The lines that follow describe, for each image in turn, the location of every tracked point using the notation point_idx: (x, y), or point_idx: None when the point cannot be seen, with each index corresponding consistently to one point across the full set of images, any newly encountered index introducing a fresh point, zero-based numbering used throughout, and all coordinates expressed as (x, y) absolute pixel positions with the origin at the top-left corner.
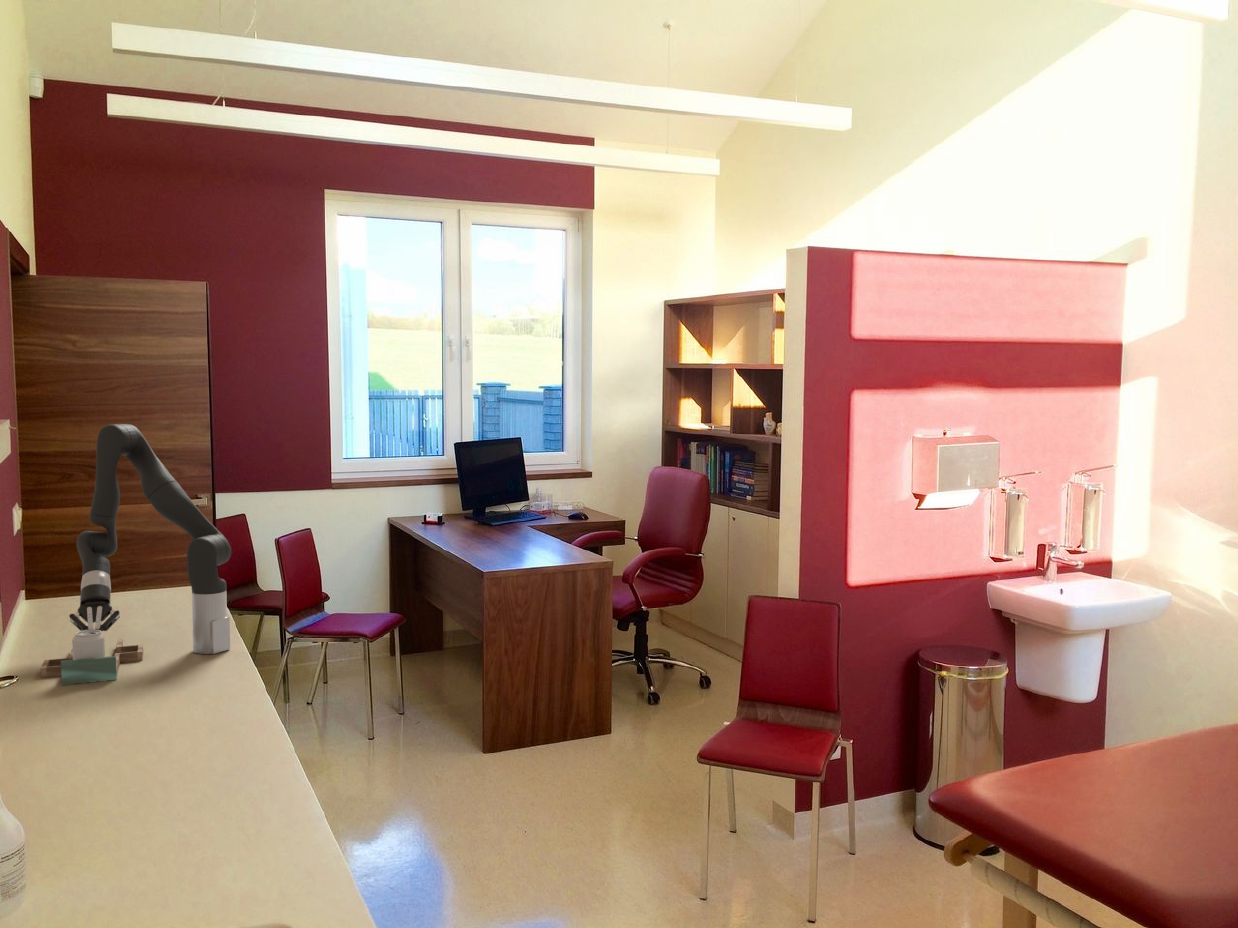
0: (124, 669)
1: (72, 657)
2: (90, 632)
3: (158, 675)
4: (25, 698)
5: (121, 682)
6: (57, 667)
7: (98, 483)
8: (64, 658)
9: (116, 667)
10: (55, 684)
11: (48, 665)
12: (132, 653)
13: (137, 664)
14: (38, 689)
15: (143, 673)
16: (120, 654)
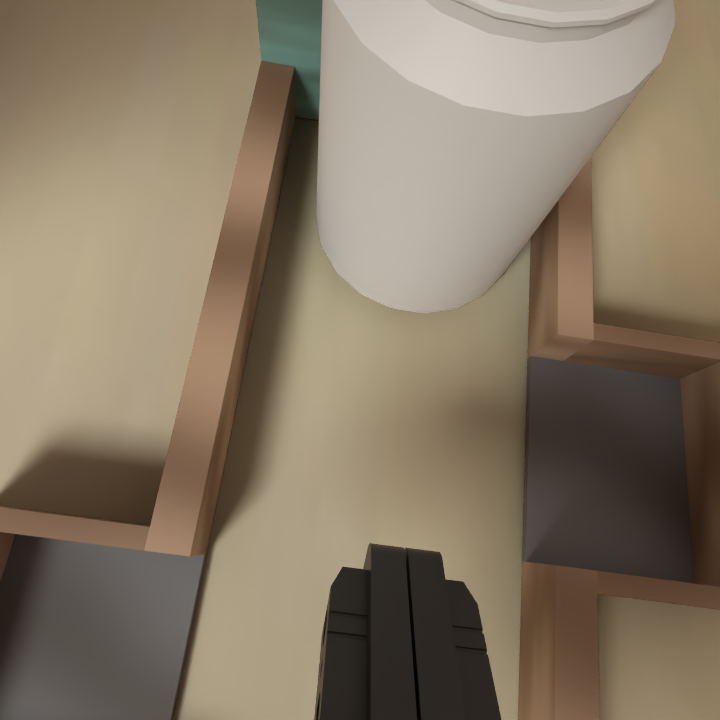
0: (182, 294)
1: (563, 592)
2: (496, 45)
3: (27, 54)
4: (700, 18)
5: (253, 32)
6: (641, 332)
7: None
8: (628, 590)
9: (254, 99)
10: (595, 173)
11: (718, 503)
12: (35, 513)
13: (63, 389)
14: (669, 127)
15: (94, 138)
16: (145, 527)
